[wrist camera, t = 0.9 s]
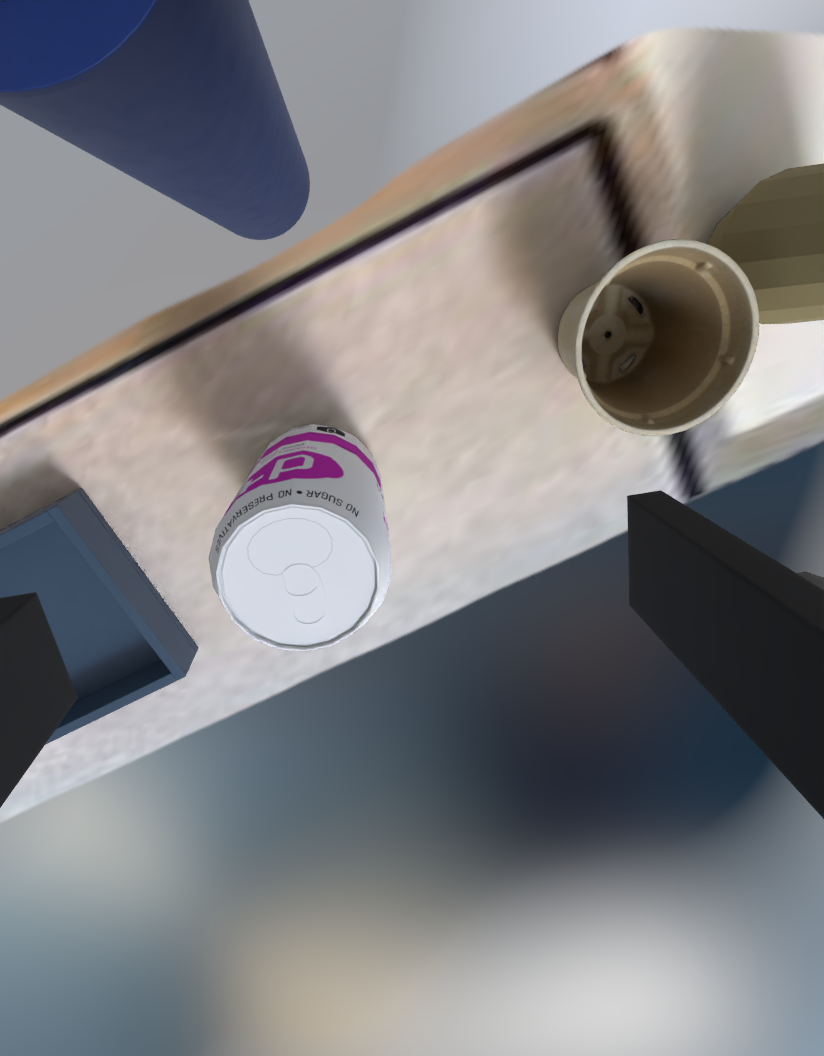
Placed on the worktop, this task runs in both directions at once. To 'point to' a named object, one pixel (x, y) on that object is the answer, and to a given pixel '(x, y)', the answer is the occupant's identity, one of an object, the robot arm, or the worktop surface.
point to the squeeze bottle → (780, 244)
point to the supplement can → (305, 542)
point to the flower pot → (662, 337)
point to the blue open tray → (94, 608)
